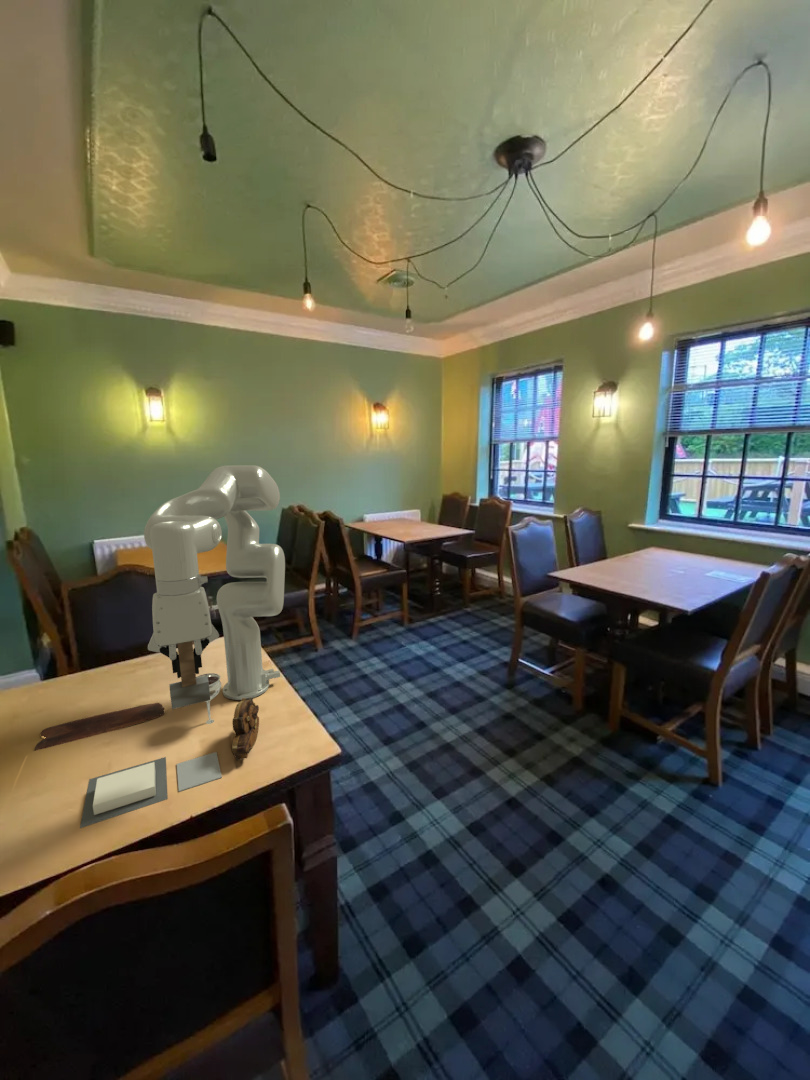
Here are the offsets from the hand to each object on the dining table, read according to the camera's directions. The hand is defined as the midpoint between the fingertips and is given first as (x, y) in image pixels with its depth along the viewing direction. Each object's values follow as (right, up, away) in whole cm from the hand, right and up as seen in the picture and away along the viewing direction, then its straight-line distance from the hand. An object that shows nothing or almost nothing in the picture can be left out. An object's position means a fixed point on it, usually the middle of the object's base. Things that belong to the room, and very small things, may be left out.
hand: (187, 672), depth 90 cm
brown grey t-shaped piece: (0, -6, +1) cm, 6 cm away
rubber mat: (-12, -24, 0) cm, 27 cm away
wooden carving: (+7, -21, +14) cm, 26 cm away
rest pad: (0, -23, +5) cm, 23 cm away
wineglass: (-5, -20, +22) cm, 30 cm away
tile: (-13, -22, +2) cm, 25 cm away
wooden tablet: (-32, -20, +22) cm, 44 cm away
